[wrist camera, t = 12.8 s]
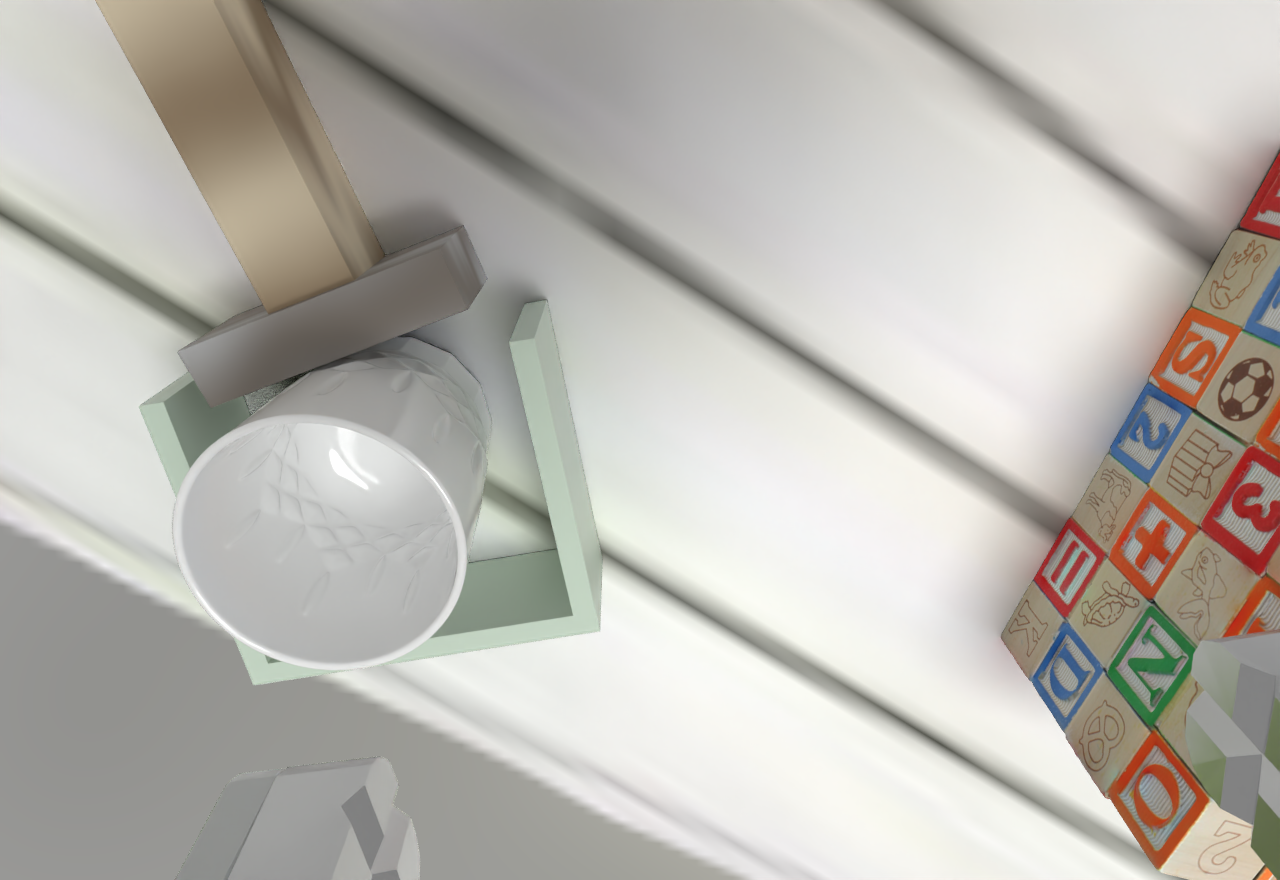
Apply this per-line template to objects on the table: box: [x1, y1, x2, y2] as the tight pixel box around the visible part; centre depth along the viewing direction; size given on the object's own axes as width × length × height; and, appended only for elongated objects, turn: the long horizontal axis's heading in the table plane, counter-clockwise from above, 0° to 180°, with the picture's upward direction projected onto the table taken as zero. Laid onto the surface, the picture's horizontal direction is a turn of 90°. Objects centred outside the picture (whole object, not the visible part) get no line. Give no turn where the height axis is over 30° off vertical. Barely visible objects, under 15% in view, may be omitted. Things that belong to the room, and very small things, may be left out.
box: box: [139, 300, 603, 685], centre depth 32 cm, size 11×13×5 cm
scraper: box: [95, 0, 487, 408], centre depth 28 cm, size 14×9×4 cm, turn 21°
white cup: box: [172, 337, 492, 670], centre depth 29 cm, size 8×8×10 cm
